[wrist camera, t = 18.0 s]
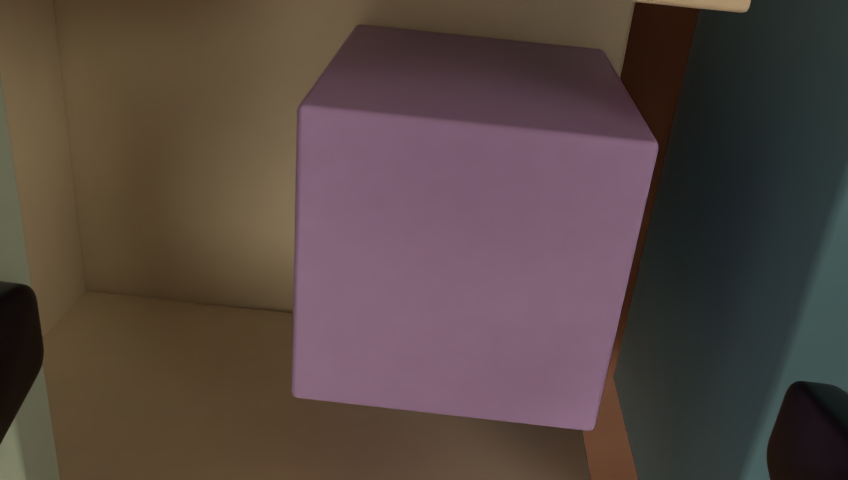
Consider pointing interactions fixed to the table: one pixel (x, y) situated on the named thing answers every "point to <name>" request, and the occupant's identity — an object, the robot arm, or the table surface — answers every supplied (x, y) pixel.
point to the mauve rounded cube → (465, 226)
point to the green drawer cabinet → (32, 427)
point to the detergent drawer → (275, 237)
